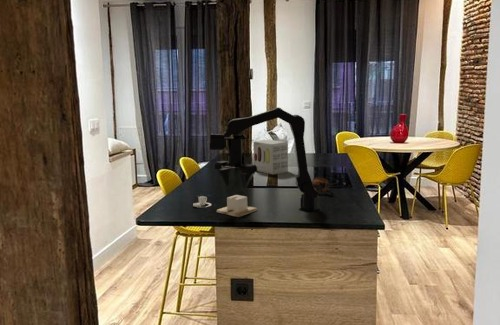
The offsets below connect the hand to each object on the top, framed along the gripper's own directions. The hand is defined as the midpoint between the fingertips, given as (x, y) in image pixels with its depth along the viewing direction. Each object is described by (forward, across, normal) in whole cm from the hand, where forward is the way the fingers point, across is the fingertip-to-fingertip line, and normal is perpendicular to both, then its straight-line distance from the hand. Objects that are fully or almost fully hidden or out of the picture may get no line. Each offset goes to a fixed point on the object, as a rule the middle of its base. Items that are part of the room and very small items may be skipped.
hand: (235, 187), depth 192 cm
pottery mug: (+10, -12, -49) cm, 52 cm away
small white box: (+9, 0, 0) cm, 9 cm away
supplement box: (+10, +41, -79) cm, 90 cm away
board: (+10, 0, 0) cm, 10 cm away
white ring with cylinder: (+11, +22, +2) cm, 24 cm away
